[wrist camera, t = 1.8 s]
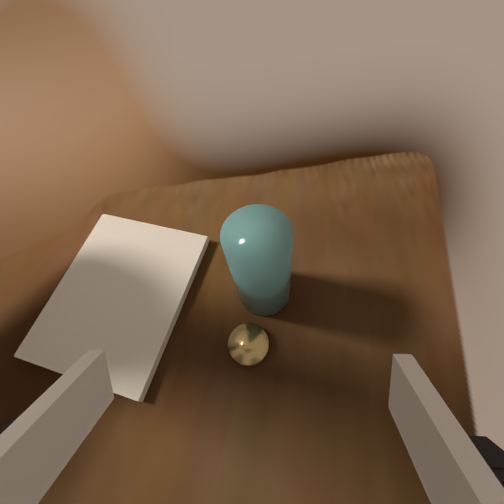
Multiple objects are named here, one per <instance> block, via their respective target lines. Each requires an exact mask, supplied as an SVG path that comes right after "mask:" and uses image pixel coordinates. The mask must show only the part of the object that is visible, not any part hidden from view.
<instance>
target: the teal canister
mask: <svg viewBox="0 0 504 504" xmlns="http://www.w3.org/2000/svg"><path fill="white" fill-rule="evenodd" d="M220 242H221V245H222V248H223V251H224V254H225V257H226V260H227V262H228V265H229V268H230V271H231V274H232V276H233V279H234V282H235V285H236V287H237V290H238V293H239V296H240V299H241V301H242V303H243V305H244V306H245V308H246V309H247V310H248V311H250V312H251V313H253V314H256V315H259V316H270V315H274V314H276V313H278V312H279V311H281V310H282V309H283V308H284V307H285V306H286V304H287V302H288V300H289V297H290V284H291V266H292V248H293V228H292V224H291V222H290V220H289V219H288V217H287V216H286V215H285V214H284V213H283V212H281V211H280V210H278V209H277V208H275V207H272V206H269V205H263V204H254V205H248V206H245V207H242V208H240V209H238V210H236V211H235V212H233V213H232V214H231V215H230V216H229V217H228V218H227V219H226V220H225V222H224V224H223V226H222V228H221V232H220Z"/></svg>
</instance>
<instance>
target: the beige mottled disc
mask: <svg viewBox="0 0 504 504" xmlns="http://www.w3.org/2000/svg"><path fill="white" fill-rule="evenodd" d="M228 350H229V353H230V355H231V357H232V358H233V359H234V360H235V361H236V362H237V363H238V364H240V365H243V366H255V365H257V364H259V363H260V362H262V361H263V360H264V358H265V357H266V355H267V353H268V350H269V341H268V337H267V334H266V333H265V331H264V330H263V329H262V328H261V327H260V326H258V325H256V324H252V323H245V324H242V325H239V326H238V327H236V328H235V329H234V330H233V331H232V333H231V334H230V336H229V339H228Z"/></svg>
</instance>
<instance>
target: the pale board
mask: <svg viewBox="0 0 504 504" xmlns="http://www.w3.org/2000/svg"><path fill="white" fill-rule="evenodd" d="M208 244H209V238H208V236H203V235H199V234H194V233H189V232H185V231H180V230H175V229H171V228H166V227H162V226H157V225H152V224H148V223H143V222H138V221H134V220H129V219H124V218H120V217H115V216H110V215H106V214H103V215H102V216H101V218H100V219H99V221H98V223H97V224H96V226H95V227H94V229H93V230H92V232H91V234H90V235H89V237H88V238H87V240H86V242H85V243H84V245H83V246H82V248H81V250H80V251H79V253H78V254H77V256H76V257H75V259H74V261H73V262H72V264H71V265H70V267H69V269H68V270H67V272H66V273H65V275H64V277H63V278H62V280H61V281H60V283H59V285H58V286H57V288H56V289H55V291H54V292H53V294H52V296H51V297H50V299H49V300H48V302H47V304H46V305H45V307H44V308H43V310H42V312H41V313H40V315H39V316H38V318H37V319H36V321H35V323H34V324H33V326H32V327H31V329H30V331H29V332H28V334H27V335H26V337H25V339H24V340H23V342H22V343H21V345H20V346H19V348H18V350H17V351H16V353H15V354H14V357H17V358H19V359H22V360H25V361H28V362H30V363H33V364H36V365H39V366H41V367H44V368H47V369H50V370H52V371H55V372H58V373H61V374H64V373H65V372H66V371H67V370H68V369H69V368H70V367H71V366H73V365H74V364H75V363H76V362H77V361H78V360H79V359H80V358H81V357H82V356H83V355H84V354H85V353H86V352H87V351H88V350H104V351H105V356H106V360H107V365H108V370H109V375H110V380H111V385H112V389H113V393H116V394H119V395H122V396H124V397H127V398H130V399H133V400H135V401H138V402H143V400H144V398H145V396H146V393H147V391H148V388H149V386H150V384H151V381H152V379H153V376H154V374H155V372H156V369H157V367H158V364H159V362H160V360H161V357H162V355H163V352H164V350H165V347H166V345H167V343H168V340H169V338H170V335H171V333H172V331H173V328H174V326H175V323H176V321H177V319H178V316H179V314H180V311H181V309H182V307H183V304H184V302H185V299H186V297H187V294H188V292H189V290H190V287H191V285H192V282H193V280H194V278H195V275H196V273H197V270H198V268H199V266H200V263H201V261H202V258H203V256H204V254H205V251H206V249H207V246H208Z"/></svg>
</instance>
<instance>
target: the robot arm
mask: <svg viewBox="0 0 504 504" xmlns="http://www.w3.org/2000/svg"><path fill="white" fill-rule="evenodd" d="M113 399H114V394H113V389H112V385H111V380H110V375H109V370H108V365H107V360H106V356H105V351H104V350H88V351H87V352H86V353H85V354H84V355H83V356H82V357H81V358H80V359H79V360H78V361H77V362H76V363H75V364H74V365H73V366H71V367H70V368H69V369H68V370H67V371H66V372H65V373H64V374H63V375H62V376H61V377H60V378H59V379H58V380H57V381H56V382H55V383H54V384H53V385H52V386H51V387H50V388H48V389H47V390H46V391H45V392H44V393H43V394H42V395H41V396H40V397H39V398H38V399H37V400H36V401H35V402H34V403H33V404H32V405H31V406H30V407H29V408H28V409H26V410H25V411H24V412H23V413H22V414H21V415H20V416H19V417H18V418H17V419H16V418H12V419H11V420H9V421H8V422H6V423H5V424H3V425H2V426H0V504H38V503H39V502H40V501H41V499H42V498H43V496H44V495H45V494H46V492H47V491H48V489H49V488H50V487H51V485H52V484H53V482H54V481H55V480H56V478H57V477H58V476H59V474H60V473H61V471H62V470H63V469H64V467H65V466H66V464H67V463H68V462H69V460H70V459H71V457H72V456H73V455H74V453H75V452H76V451H77V449H78V448H79V446H80V445H81V444H82V442H83V441H84V439H85V438H86V437H87V435H88V434H89V432H90V431H91V430H92V428H93V427H94V426H95V424H96V423H97V421H98V420H99V419H100V417H101V416H102V414H103V413H104V412H105V410H106V409H107V408H108V406H109V405H110V403H111V402H112V401H113ZM388 407H389V410H390V412H391V414H392V417H393V419H394V421H395V423H396V426H397V428H398V430H399V432H400V435H401V437H402V439H403V442H404V444H405V446H406V448H407V451H408V453H409V455H410V457H411V460H412V462H413V464H414V467H415V469H416V471H417V473H418V476H419V478H420V480H421V482H422V485H423V487H424V489H425V492H426V494H427V496H428V498H429V501H430V503H431V504H504V451H503V450H502V449H501V448H499V447H498V446H497V445H496V444H495V443H493V442H492V441H491V440H490V439H488V438H487V437H483V436H468V435H467V434H466V432H465V431H464V430H463V428H462V427H461V425H460V424H459V422H458V421H457V419H456V418H455V416H454V415H453V414H452V412H451V411H450V409H449V408H448V406H447V405H446V403H445V402H444V400H443V399H442V398H441V396H440V395H439V393H438V392H437V390H436V389H435V387H434V386H433V384H432V383H431V382H430V380H429V379H428V377H427V376H426V374H425V373H424V371H423V370H422V368H421V367H420V366H419V364H418V363H417V361H416V360H415V358H414V357H413V355H412V354H393V359H392V370H391V381H390V393H389V404H388Z"/></svg>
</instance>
